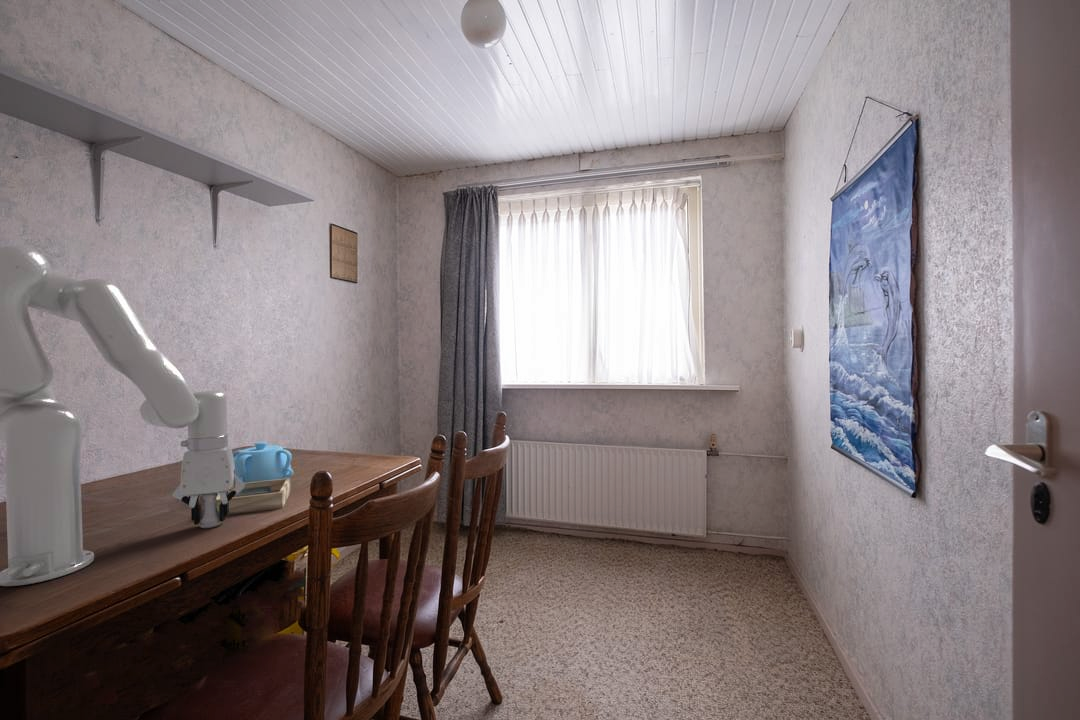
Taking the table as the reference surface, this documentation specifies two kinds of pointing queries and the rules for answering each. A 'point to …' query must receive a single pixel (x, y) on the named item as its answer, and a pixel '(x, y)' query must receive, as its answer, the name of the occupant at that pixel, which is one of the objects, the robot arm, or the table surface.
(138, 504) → the table surface
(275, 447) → the decorative pot
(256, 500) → the beech box
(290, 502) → the table surface
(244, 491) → the socket
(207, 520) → the rook chess piece
